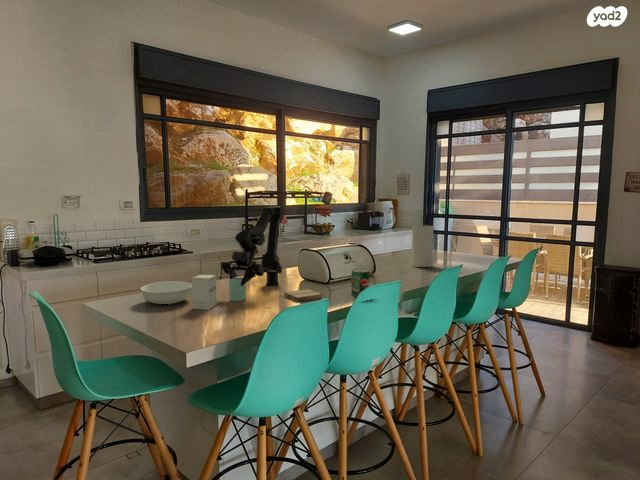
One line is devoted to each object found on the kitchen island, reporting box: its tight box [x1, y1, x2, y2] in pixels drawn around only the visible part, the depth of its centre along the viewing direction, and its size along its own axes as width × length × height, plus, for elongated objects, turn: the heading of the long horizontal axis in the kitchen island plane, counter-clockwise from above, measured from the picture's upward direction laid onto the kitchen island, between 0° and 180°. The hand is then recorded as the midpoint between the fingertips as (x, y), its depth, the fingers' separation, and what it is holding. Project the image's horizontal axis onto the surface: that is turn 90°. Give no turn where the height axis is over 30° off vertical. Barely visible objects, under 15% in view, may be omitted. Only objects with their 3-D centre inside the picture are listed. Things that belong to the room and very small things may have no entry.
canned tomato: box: [351, 268, 370, 297], centre depth 201 cm, size 8×8×11 cm
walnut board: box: [284, 288, 323, 303], centre depth 196 cm, size 12×12×2 cm
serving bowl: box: [140, 280, 192, 305], centre depth 188 cm, size 21×21×7 cm
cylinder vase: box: [411, 224, 434, 268], centre depth 276 cm, size 12×12×25 cm
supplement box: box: [191, 274, 217, 311], centre depth 179 cm, size 7×7×13 cm
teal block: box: [228, 277, 247, 302], centre depth 191 cm, size 5×5×9 cm
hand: (235, 285), depth 190 cm, fingers closed on teal block, 5 cm apart
